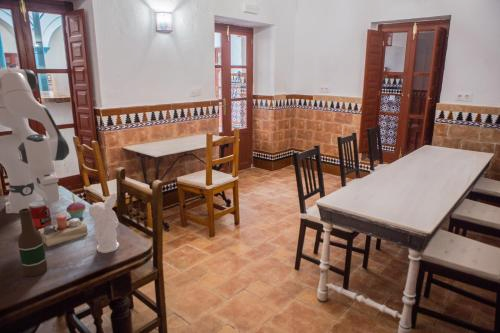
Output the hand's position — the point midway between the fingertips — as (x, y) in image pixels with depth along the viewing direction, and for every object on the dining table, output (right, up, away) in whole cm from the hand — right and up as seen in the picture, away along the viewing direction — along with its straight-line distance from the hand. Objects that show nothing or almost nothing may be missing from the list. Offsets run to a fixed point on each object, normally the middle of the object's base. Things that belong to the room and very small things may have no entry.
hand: (48, 206), depth 150 cm
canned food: (-13, -11, +18) cm, 24 cm away
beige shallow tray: (+3, -14, +7) cm, 15 cm away
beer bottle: (+7, -21, -20) cm, 30 cm away
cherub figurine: (+25, -16, -2) cm, 30 cm away
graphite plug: (-1, -14, +3) cm, 15 cm away
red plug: (+3, -10, +6) cm, 12 cm away
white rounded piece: (+6, -12, +10) cm, 17 cm away
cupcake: (-1, -8, +27) cm, 28 cm away
